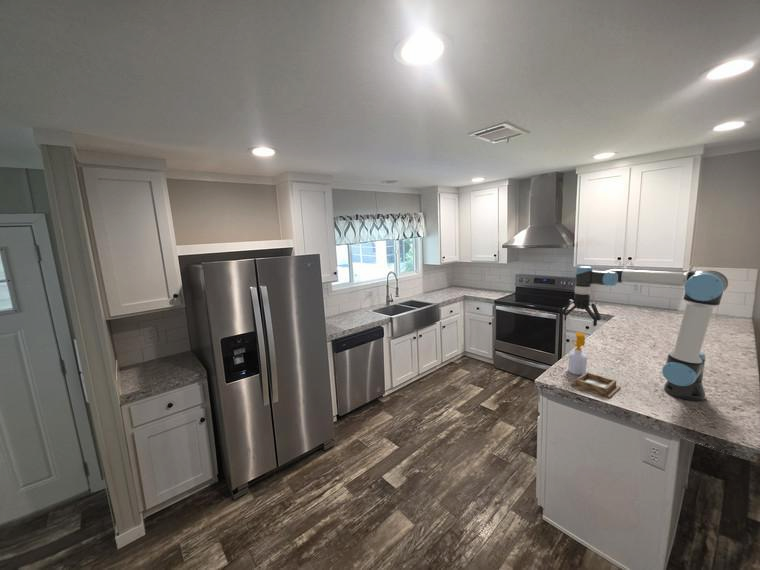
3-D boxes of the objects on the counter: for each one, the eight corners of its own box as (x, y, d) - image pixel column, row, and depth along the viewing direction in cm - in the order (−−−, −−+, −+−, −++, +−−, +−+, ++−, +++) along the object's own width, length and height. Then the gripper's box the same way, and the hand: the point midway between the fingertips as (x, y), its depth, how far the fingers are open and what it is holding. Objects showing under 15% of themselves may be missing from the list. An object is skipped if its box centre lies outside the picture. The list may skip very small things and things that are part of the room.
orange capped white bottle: (582, 369, 192) (585, 330, 188) (588, 375, 184) (591, 335, 179) (566, 368, 195) (568, 330, 191) (570, 374, 186) (573, 335, 182)
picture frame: (620, 388, 168) (621, 381, 168) (609, 398, 159) (610, 391, 158) (583, 376, 183) (583, 370, 182) (571, 385, 173) (571, 378, 173)
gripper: (610, 295, 173) (606, 332, 177) (562, 289, 193) (560, 322, 197) (605, 297, 169) (601, 334, 173) (556, 291, 189) (554, 325, 192)
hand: (579, 328), depth 185 cm, fingers open, 13 cm apart
